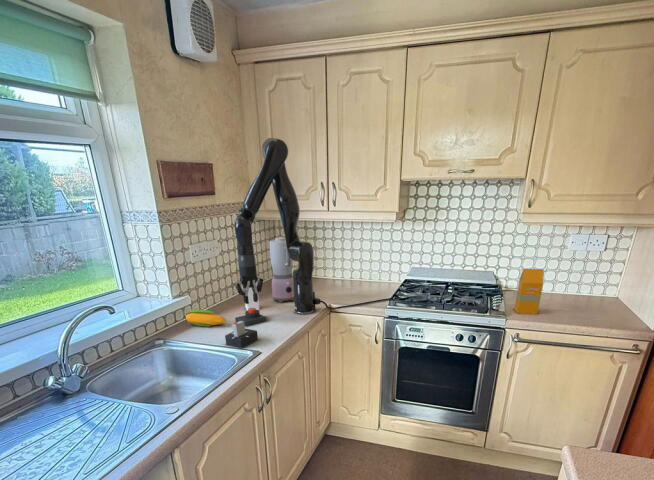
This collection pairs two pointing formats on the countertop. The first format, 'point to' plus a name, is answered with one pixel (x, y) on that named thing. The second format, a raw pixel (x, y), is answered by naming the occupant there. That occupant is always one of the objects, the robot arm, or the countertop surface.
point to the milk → (251, 301)
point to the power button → (252, 310)
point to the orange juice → (529, 291)
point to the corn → (204, 318)
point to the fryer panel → (241, 338)
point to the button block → (251, 318)
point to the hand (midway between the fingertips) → (251, 302)
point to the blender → (281, 271)
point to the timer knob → (238, 328)
